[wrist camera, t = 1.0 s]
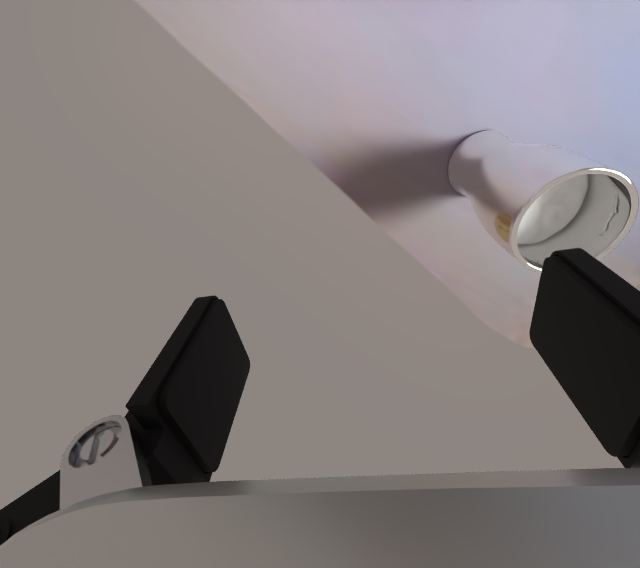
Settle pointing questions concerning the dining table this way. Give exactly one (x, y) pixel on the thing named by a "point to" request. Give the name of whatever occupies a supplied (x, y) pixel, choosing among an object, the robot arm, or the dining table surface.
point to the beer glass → (542, 197)
